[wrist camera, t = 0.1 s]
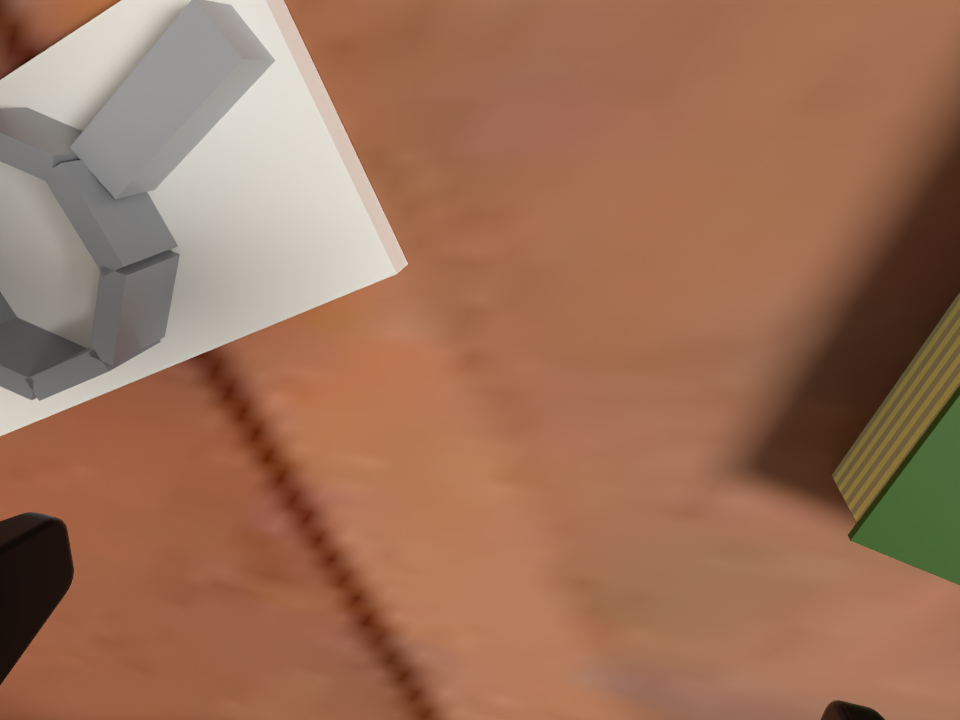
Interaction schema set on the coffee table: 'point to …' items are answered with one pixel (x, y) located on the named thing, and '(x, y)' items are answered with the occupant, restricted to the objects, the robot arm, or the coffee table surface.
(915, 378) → the hardcover book
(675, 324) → the coffee table surface
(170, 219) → the coupling stand
